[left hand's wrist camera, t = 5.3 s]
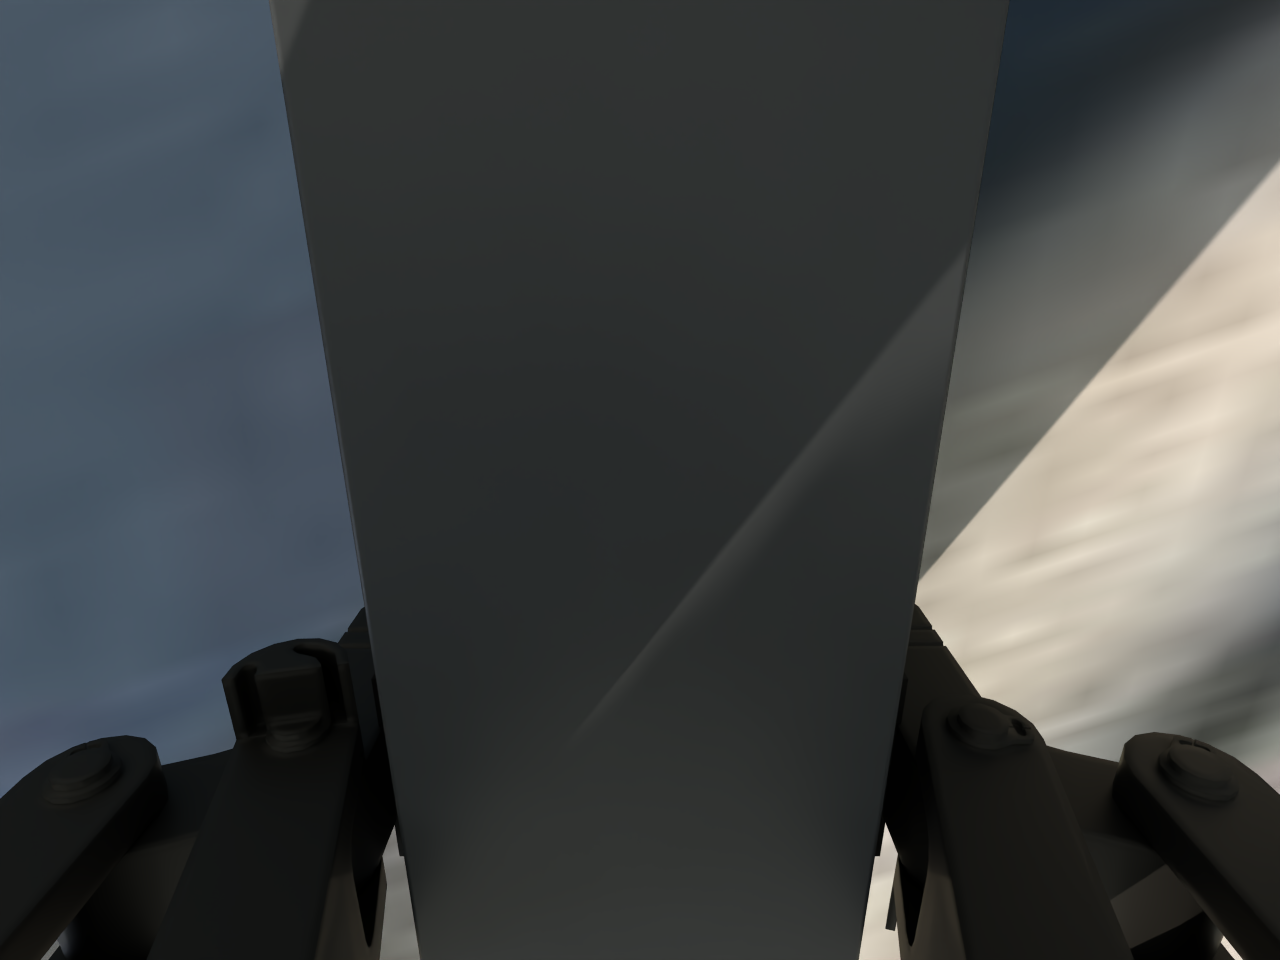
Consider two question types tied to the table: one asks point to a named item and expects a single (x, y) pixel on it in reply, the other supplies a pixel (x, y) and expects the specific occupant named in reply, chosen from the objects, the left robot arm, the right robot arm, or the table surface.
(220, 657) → the table surface
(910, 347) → the beam
